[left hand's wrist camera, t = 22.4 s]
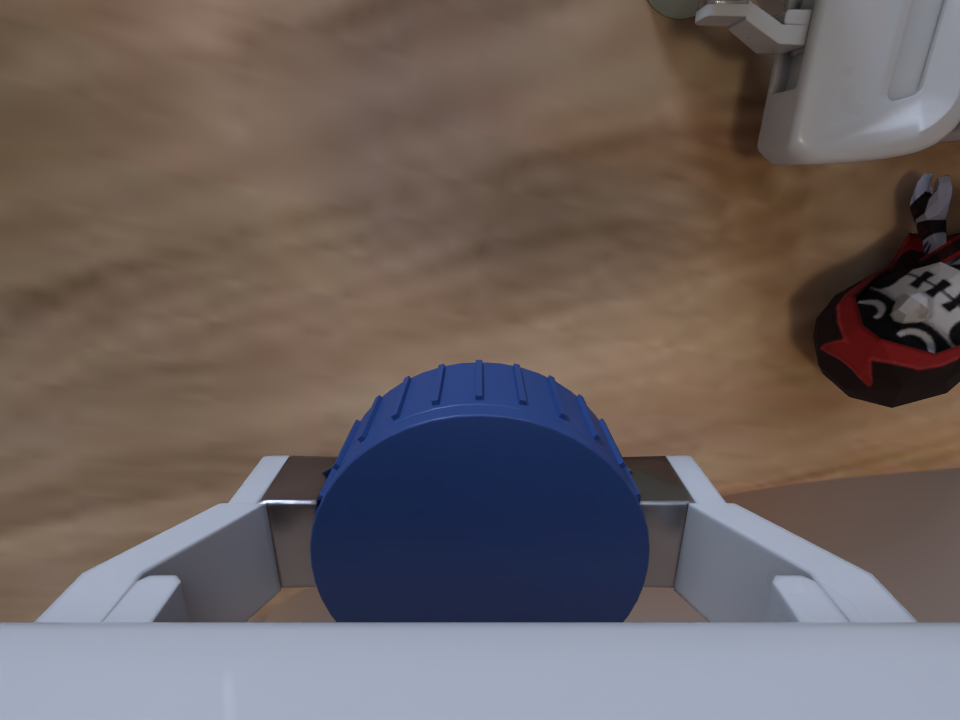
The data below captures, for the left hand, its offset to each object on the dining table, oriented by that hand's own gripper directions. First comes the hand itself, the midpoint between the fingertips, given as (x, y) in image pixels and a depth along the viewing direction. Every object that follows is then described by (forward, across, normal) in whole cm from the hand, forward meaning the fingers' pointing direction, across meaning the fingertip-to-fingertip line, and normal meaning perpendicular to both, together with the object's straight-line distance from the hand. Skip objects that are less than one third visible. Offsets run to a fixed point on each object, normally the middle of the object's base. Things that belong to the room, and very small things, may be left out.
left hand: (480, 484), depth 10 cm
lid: (-2, 0, 0) cm, 2 cm away
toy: (+25, +28, -1) cm, 37 cm away
